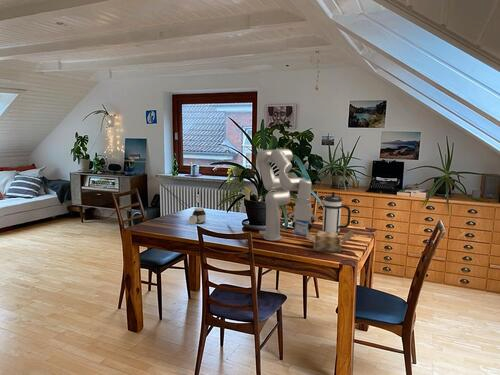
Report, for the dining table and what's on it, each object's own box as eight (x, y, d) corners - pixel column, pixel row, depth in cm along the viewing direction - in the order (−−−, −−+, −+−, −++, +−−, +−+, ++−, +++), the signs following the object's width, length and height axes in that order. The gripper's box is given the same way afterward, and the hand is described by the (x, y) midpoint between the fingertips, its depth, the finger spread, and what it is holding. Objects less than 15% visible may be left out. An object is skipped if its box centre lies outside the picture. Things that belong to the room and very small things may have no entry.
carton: (304, 252, 213) (305, 241, 212) (307, 240, 236) (307, 230, 235) (341, 255, 209) (342, 244, 208) (339, 242, 232) (340, 232, 231)
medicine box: (293, 233, 212) (294, 219, 211) (296, 231, 216) (297, 217, 215) (306, 236, 209) (307, 222, 207) (308, 233, 213) (309, 220, 211)
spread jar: (206, 221, 276) (206, 207, 274) (203, 225, 265) (203, 210, 263) (191, 221, 277) (191, 206, 275) (187, 225, 266) (187, 209, 264)
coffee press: (329, 237, 242) (332, 194, 237) (316, 231, 257) (318, 190, 252) (349, 235, 250) (352, 193, 245) (335, 229, 264) (337, 189, 259)
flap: (342, 243, 213) (352, 234, 211) (341, 237, 225) (351, 229, 223) (343, 243, 213) (353, 235, 211) (342, 237, 225) (352, 229, 223)
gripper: (288, 201, 206) (286, 229, 210) (318, 203, 203) (316, 232, 206) (289, 198, 213) (287, 225, 217) (318, 201, 210) (316, 228, 214)
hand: (301, 229), depth 212 cm, fingers closed on medicine box, 8 cm apart
